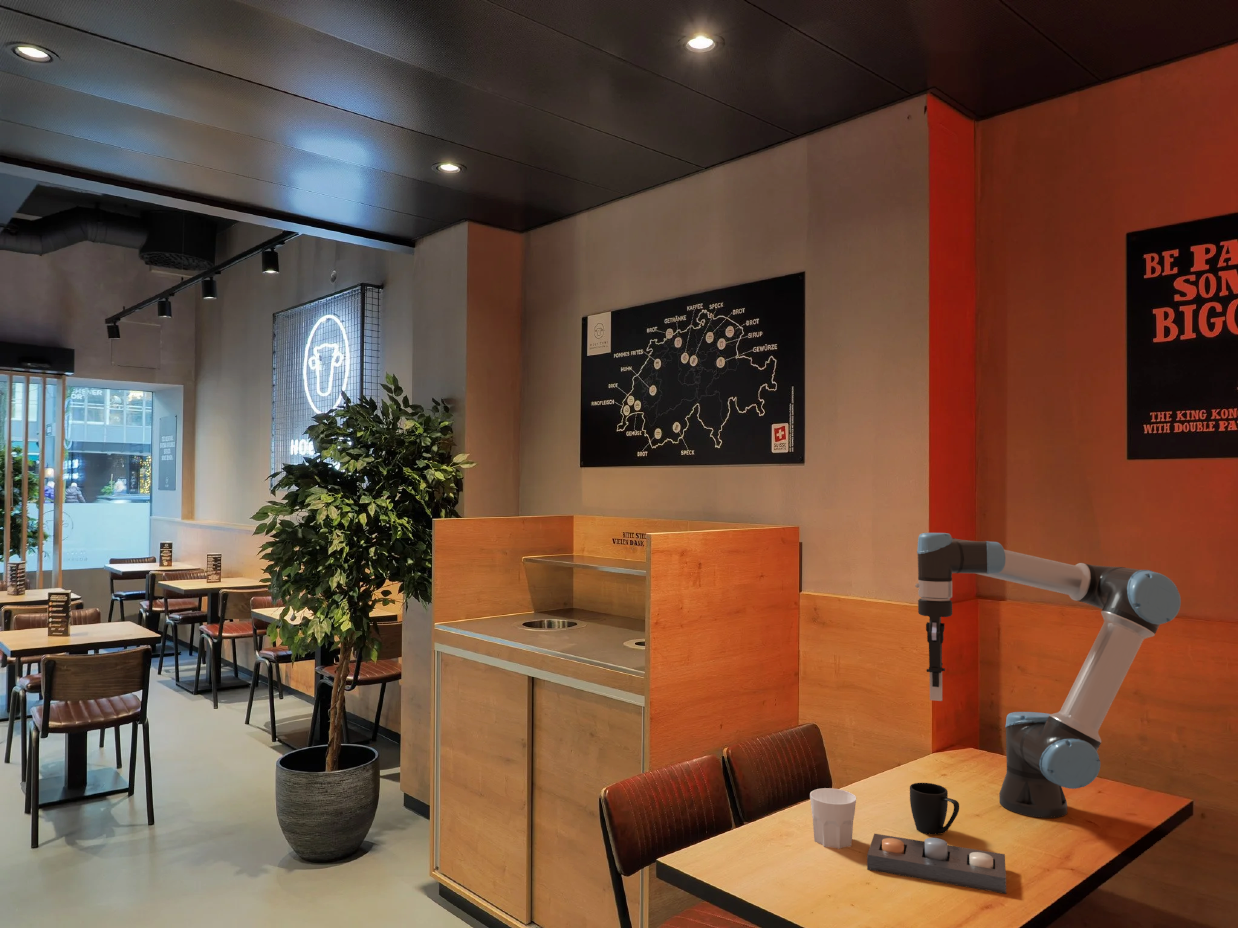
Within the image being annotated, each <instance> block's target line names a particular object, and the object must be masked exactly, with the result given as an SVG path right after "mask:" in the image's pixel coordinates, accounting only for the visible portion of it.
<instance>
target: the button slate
mask: <svg viewBox="0 0 1238 928" xmlns="http://www.w3.org/2000/svg"><path fill="white" fill-rule="evenodd" d="M924 841H925V858H930V859H936V860H942V861H948V851H947V845H948V841H946V840H944V839H941V838H937V837H928V838H925V839H924Z"/></svg>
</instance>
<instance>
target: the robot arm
mask: <svg viewBox="0 0 1238 928" xmlns="http://www.w3.org/2000/svg"><path fill="white" fill-rule="evenodd" d="M917 539H918V540H917V551H916V554H917V579H918V581H917V582H918V583H915V588H918V591H917V595H918V597H919V599H918V600H917V613H918V614H919V615H920V616H923V617H929V619H928V620H929V622H928V621H927V622H926V624H925V631H926V633H927V634H926V636H927V637H926V639H927V641H926V642H927V643H928V665H929V666H928V668H926V670H925V671H926V673H929V701H938V702H943V672H945V671H946V668H944V667H943V643H944V639H945V637H944V634H945V633H944V632H945V629H946V627H945V623H944V622H942V618H949V617H951V616H952V615H953V601H952V600H951V599H952V598H953V574H977V575H980V576H984V577H989V578H993V579H998V580H1002V581H1006V582H1010V583H1015V584H1019V585H1024V586H1027V587H1032V588H1037V589H1041V590H1044V591H1050V592H1055V593H1060V594H1064V595H1068V596H1069V598H1070V599H1071V600H1072V601H1076V602H1078V603H1079V602H1081V603H1083V604H1086V605H1090V606H1092V607H1095V608H1098V609H1100V610H1101V611H1100V613H1101V614H1100V615H1101V616H1102V618H1103V624H1102V626H1101V627H1100V630H1099V632H1098V634H1097V636H1096V638H1095V640H1094V642H1093V644H1092V646H1091V648H1090V649H1089V651H1088V654H1087V656H1086V658H1085V660H1084V662H1083V663H1082V665H1081V668H1080V670H1079V672H1078V674H1077V675H1076V678H1075V679H1074V682H1073V684H1072V686H1071V688H1070V690H1069V691H1068V695H1067V696H1066V698H1065V700H1064V702H1063V704H1062V706H1061V708H1060V710H1059V711H1057V712H1054V713H1047V712H1045V713H1044V712H1037V711H1035V712H1034V711H1014V712H1010V713H1008V714H1007V715H1006V721H1005V727H1004V729H1005V747H1006V749H1005V752H1006V755H1005V756H1006V757H1005V758H1006V774H1005V776H1004V779H1003V781H1002V784H1001V788H1000V791H999V804H1000V805H1001V806H1002V807H1003V808H1005V809H1007V810H1009V811H1011V812H1013V813H1017V814H1019V815H1023V816H1028V817H1034V818H1043V819H1047V818H1049V819H1050V818H1051V819H1054V818H1056V819H1057V818H1061V817H1064V816H1066V815H1067V813H1068V802H1067V799H1066V795H1065V793H1064V790H1063V788H1065V789H1072V790H1075V789H1080V788H1084V787H1087V786H1088V785H1090V784H1091V783H1092V782H1094V781H1095V779H1096V778H1097V777H1098V775H1099V773H1100V770H1101V759H1100V755H1099V753H1098V750H1099V748H1100V746H1101V744H1102V738H1101V736H1100V734H1099V731H1100V728H1101V726H1102V724H1103V722H1104V720H1105V718H1106V716H1107V714H1108V712H1109V710H1110V708H1111V706H1112V703H1113V702H1114V700H1115V698H1116V696H1117V694H1118V693H1119V690H1120V688H1121V686H1122V684H1123V682H1124V680H1125V678H1126V676H1127V675H1128V672H1129V670H1130V668H1131V665H1132V664H1133V662H1134V660H1135V658H1136V656H1137V653H1138V652H1139V650H1140V648H1141V646H1142V644H1143V642H1144V641H1145V639H1149V638H1152V637H1155V635H1156V633H1157V631H1158V630H1159V628H1160V625H1163V624H1167V623H1168V622H1171V621H1173V620H1174V619H1175V618H1176V617H1177V616H1178V613H1179V612H1180V609H1181V604H1182V602H1181V601H1182V600H1181V599H1182V598H1181V594H1180V592H1179V590H1178V587H1177V586H1176V584H1175V582H1173V580H1172V579H1171V578H1169V577H1168V576H1166V575H1165V574H1162V573H1160V572H1156V571H1153V570H1151V569H1139V568H1138V569H1137V568H1130V567H1123V566H1110V565H1109V566H1107V565H1097V564H1096V565H1094V564H1088V563H1084V562H1079V563H1077V564H1075V565H1074V564H1069V563H1065V562H1061V561H1057V560H1052V559H1047V558H1043V557H1038V556H1035V555H1030V554H1026V553H1021V552H1016V551H1012V550H1009V549H1005V548H1004V547H1003V545H1002V544H1001V543H1000V542H998V541H989V540H985V541H984V540H983V541H976V540H966V539H958V538H954V537H952V535H951V534H950V533H946V532H923V533H919V535H918V538H917Z"/></svg>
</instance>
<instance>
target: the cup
mask: <svg viewBox="0 0 1238 928" xmlns="http://www.w3.org/2000/svg"><path fill="white" fill-rule="evenodd" d="M809 799H810V807H811V808H810V810H811V815H812V827H813V839H814V840H813V841H814V842H815V843H818V844H820V845H821V846H823V847H824V848H834V849H838V850H840V849H842V848H847V847H852V841H853V831H854V829H853V828H854V818H855V812H856V804H857V796H856V795H855V794H853V793H852V792H849V791H847V790H844V789H840V788H833V787H832V788H831V787H829V788H826V787H824V788H817V789H814V790H812V791H810V793H809Z"/></svg>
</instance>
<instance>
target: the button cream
mask: <svg viewBox="0 0 1238 928" xmlns="http://www.w3.org/2000/svg"><path fill="white" fill-rule="evenodd" d="M969 862H970V865H972V866H978V867H984V868H990V869H993V857H992V856H990V855H988V854H986V853H981V852H972V853H970V854H969Z"/></svg>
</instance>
